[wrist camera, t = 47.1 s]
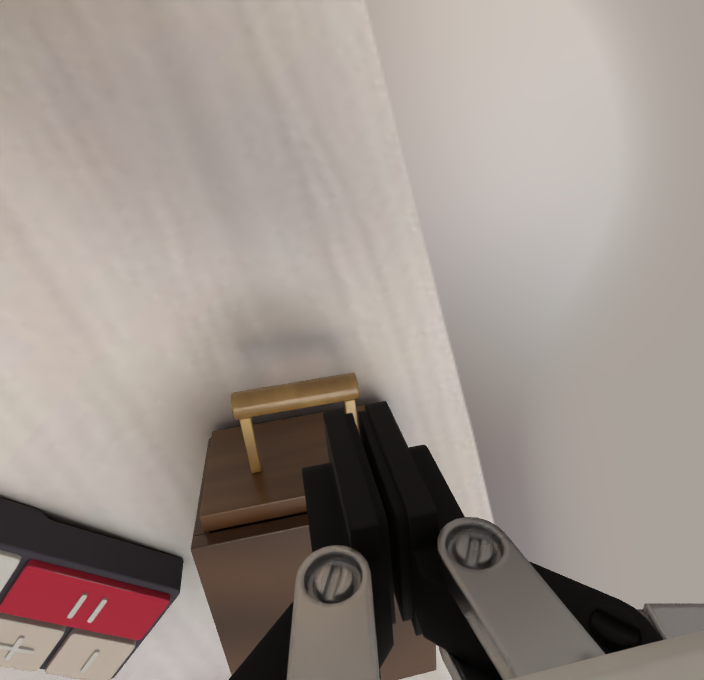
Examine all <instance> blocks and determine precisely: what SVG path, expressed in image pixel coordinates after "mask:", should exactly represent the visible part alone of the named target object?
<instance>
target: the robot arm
mask: <svg viewBox="0 0 704 680" xmlns="http://www.w3.org/2000/svg"><path fill="white" fill-rule="evenodd" d="M323 421H324V428H325V435H326V443H327V450H328V457H329V463H325V464H320V465H314V466H309V467H304V468H302V476H303V484H304V492H305V500H306V508H307V516H308V524H309V531H310V539H311V547H312V554H310V555H309V556H308V557H307V558H306V559H305V560H304V561H303V563H302V564H301V566H300V567H299V569H298V572H297V576H296V581H295V592H294V601H293V602H292V603H291V604H290V606H289V607H288V608H287V609H286V611H285V612H284V613H283V614H282V615H281V617H280V618H279V619H278V620H277V621H276V623H275V624H274V625H273V626H272V628H271V629H270V630H269V631H268V632H267V634H266V635H265V636H264V637H263V638H262V640H261V641H260V642H259V643H258V645H257V646H256V647H255V648H254V649H253V651H252V652H251V653H250V654H249V655H248V657H247V658H246V659H245V660H244V662H243V663H242V664H241V665H240V666H239V668H238V669H237V670H236V671H235V672H234V674H233V675H232V676H231V677H230V679H229V680H382V679H381V666H382V664H383V663H384V661H385V659H386V658H387V656H388V654H389V652H390V651H391V649H392V647H393V645H394V639H393V626H392V624H396V616H395V603H394V595H395V598H396V601H397V605H398V608H399V612H400V615H401V618H402V621H403V622H404V621H409V620H411V622H412V625H413V628H414V631H415V634H416V636H418V635H422V634H423V637H424V638H426V639H427V640H429V641H431V642H433V643H434V644H436V645H438V646H439V650H440V653H441V656H442V659H443V661H444V663H445V665H446V667H447V669H448V671H449V673H450V675H451V677H452V679H453V680H704V604H645V605H644V608H643V610H636V609H635V608H634V607H632V606H630V605H628V604H627V603H625V602H623V601H621V600H619V599H617V598H614V597H612V596H609V595H607V594H605V593H603V592H600V591H598V590H595V589H593V588H591V587H588V586H586V585H583V584H581V583H579V582H577V581H574V580H572V579H569V578H567V577H565V576H562V575H560V574H558V573H555V572H553V571H550V570H548V569H546V568H543V567H541V566H539V565H536V564H533V563H532V562H529V561H528V560H527V559H526V558H525V557H524V556H523V554H522V553H521V552H520V551H519V549H518V548H517V547H516V546H515V545H514V543H513V542H512V541H511V540H510V539H509V537H508V536H507V535H506V534H505V533H504V532H503V531H502V530H501V529H500V528H499V527H497V526H496V525H494V524H493V523H491V522H489V521H487V520H483V519H479V518H472V517H464V515H463V513H462V511H461V509H460V507H459V506H458V504H457V502H456V500H455V498H454V496H453V494H452V492H451V491H450V489H449V487H448V485H447V483H446V481H445V479H444V477H443V476H442V474H441V472H440V470H439V468H438V466H437V464H436V462H435V461H434V459H433V457H432V455H431V453H430V451H429V449H428V448H427V446H425V445H420V446H415V447H409V448H408V447H407V445H406V443H405V440H404V438H403V436H402V434H401V432H400V430H399V428H398V426H397V423H396V421H395V419H394V417H393V415H392V413H391V411H390V409H389V407H388V404H387V403H386V401H383V402H377V403H371V404H365V410H363V411H358V421H359V431H360V435H359V432H358V429H357V425H356V422H355V419H354V416H353V414H352V413H346V414H345V413H344V410H343V409H337V410H331V411H326V412H323Z"/></svg>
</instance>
